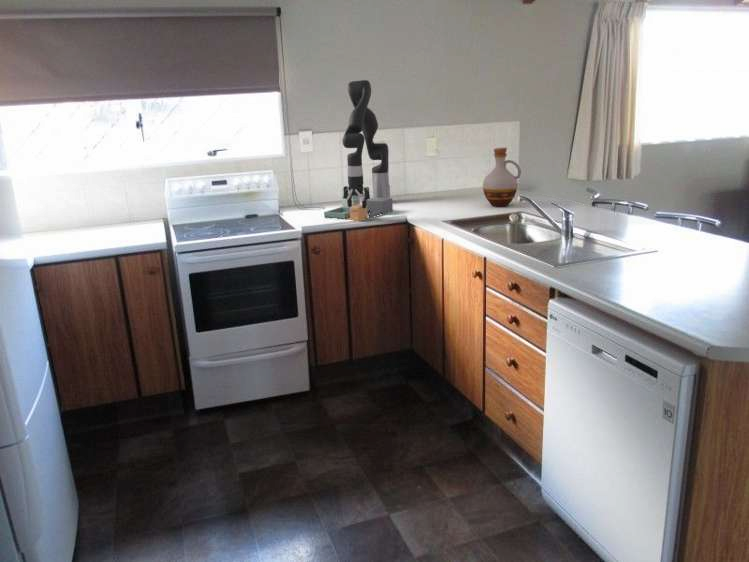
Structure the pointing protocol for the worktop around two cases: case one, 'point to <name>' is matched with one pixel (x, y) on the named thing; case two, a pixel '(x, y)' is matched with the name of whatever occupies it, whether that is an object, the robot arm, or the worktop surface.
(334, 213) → the tray
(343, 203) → the supplement box
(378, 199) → the printer bay
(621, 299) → the worktop surface
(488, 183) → the jug
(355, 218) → the toner caddy
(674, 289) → the worktop surface
